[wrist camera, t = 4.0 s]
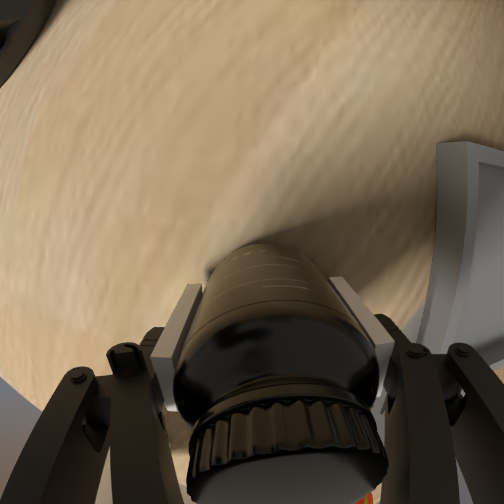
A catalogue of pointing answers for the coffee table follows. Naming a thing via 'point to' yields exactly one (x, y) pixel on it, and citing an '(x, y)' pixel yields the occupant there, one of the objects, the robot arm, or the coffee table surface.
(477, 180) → the tray
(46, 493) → the robot arm
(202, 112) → the coffee table surface
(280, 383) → the supplement bottle
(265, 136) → the coffee table surface
